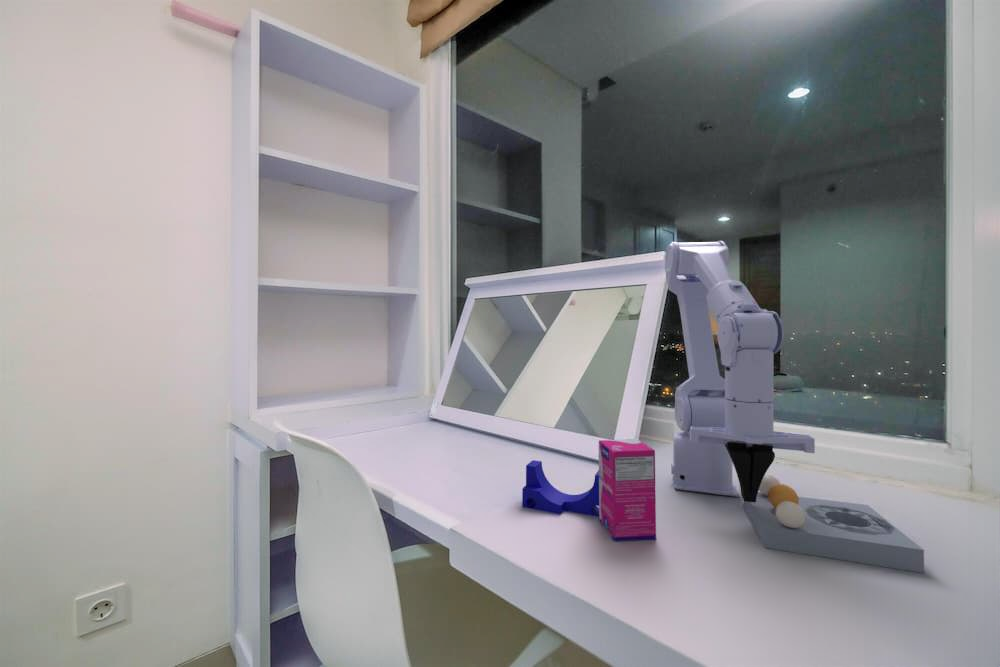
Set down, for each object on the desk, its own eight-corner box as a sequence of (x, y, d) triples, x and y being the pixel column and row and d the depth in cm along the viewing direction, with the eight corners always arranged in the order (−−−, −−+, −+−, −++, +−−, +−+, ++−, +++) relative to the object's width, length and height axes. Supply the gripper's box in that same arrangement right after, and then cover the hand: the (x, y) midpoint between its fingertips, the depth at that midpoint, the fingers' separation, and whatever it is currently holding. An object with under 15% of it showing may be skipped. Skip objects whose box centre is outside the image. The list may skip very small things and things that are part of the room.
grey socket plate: (764, 547, 51) (764, 526, 51) (743, 506, 63) (743, 490, 63) (924, 572, 45) (923, 549, 45) (867, 523, 57) (867, 504, 57)
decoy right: (779, 530, 50) (779, 504, 50) (772, 519, 53) (772, 496, 53) (809, 534, 49) (809, 508, 49) (801, 523, 51) (801, 499, 52)
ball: (771, 513, 54) (771, 487, 54) (764, 503, 58) (765, 479, 58) (802, 517, 53) (802, 491, 53) (794, 507, 56) (794, 482, 56)
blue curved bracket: (522, 508, 62) (522, 468, 62) (532, 497, 66) (532, 460, 66) (603, 523, 57) (603, 480, 57) (609, 511, 61) (609, 470, 61)
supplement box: (597, 521, 57) (597, 438, 58) (638, 520, 58) (638, 438, 58) (612, 542, 52) (612, 450, 52) (658, 540, 52) (658, 449, 52)
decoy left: (759, 498, 60) (759, 477, 60) (754, 490, 62) (754, 470, 62) (783, 501, 59) (783, 479, 59) (777, 493, 61) (777, 473, 61)
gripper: (692, 400, 56) (692, 502, 56) (823, 407, 51) (823, 519, 51) (689, 394, 62) (688, 484, 62) (804, 399, 57) (804, 498, 57)
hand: (748, 499), depth 57 cm, fingers closed
